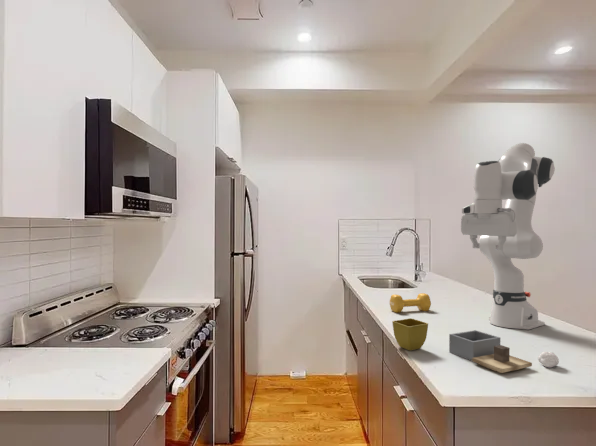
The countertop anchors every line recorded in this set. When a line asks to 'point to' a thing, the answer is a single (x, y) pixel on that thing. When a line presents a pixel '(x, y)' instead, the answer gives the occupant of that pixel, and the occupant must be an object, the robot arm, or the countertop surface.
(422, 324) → the flower pot
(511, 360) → the lid
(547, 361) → the microfossil shell
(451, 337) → the box
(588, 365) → the countertop surface
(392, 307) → the dumbbell
